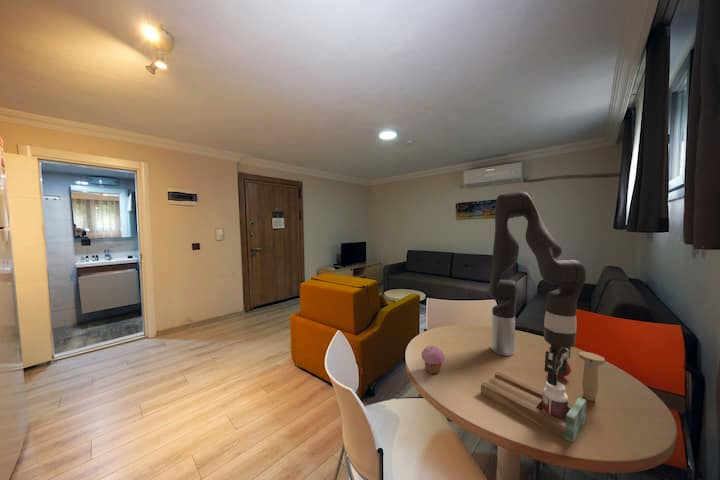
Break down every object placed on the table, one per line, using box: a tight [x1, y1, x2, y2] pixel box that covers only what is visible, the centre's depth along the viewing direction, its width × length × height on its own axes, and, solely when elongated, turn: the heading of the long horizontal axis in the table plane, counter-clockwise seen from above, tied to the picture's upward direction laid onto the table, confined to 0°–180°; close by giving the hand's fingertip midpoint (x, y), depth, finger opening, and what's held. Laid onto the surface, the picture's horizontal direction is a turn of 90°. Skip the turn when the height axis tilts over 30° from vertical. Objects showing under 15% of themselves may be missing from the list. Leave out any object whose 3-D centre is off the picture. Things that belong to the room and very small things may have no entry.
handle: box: [578, 351, 606, 402], centre depth 89 cm, size 5×6×15 cm
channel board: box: [480, 371, 587, 444], centre depth 86 cm, size 12×26×7 cm, turn 37°
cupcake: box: [421, 345, 445, 374], centre depth 106 cm, size 9×9×10 cm
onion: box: [551, 362, 572, 378], centre depth 101 cm, size 6×6×8 cm
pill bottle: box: [541, 381, 569, 422], centre depth 80 cm, size 6×6×11 cm
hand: (557, 378), depth 79 cm, fingers open, 8 cm apart
